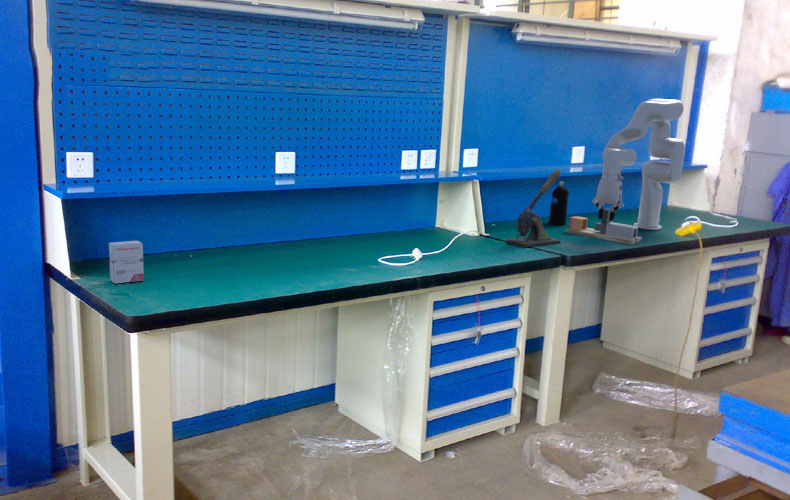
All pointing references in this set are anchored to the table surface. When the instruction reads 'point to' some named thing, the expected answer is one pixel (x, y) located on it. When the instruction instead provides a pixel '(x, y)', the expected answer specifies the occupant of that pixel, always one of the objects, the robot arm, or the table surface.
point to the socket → (578, 223)
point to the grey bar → (604, 221)
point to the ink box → (126, 261)
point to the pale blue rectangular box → (621, 230)
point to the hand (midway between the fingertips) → (605, 219)
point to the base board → (602, 236)
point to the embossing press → (534, 221)
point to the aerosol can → (559, 205)
